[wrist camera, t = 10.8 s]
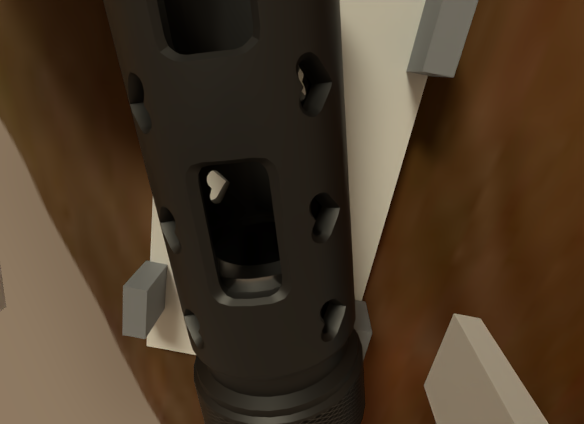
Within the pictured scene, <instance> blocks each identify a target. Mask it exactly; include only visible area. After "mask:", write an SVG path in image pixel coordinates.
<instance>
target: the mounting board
mask: <svg viewBox="0 0 584 424" xmlns="http://www.w3.org/2000/svg"><path fill="white" fill-rule="evenodd" d="M477 3H478V0H340V17H341V37H342V59H343V78H344V99H345V116H346V135H347V155H348V177H349V197H350V214H351V234H352V254H353V276H354V295H355V315H356V319H355V323H354V329H355V330H356V332H357V333H358V335H359V338H360V341H361V344H362V348H363V360H364V357H365V354H366V351H367V348H368V345H369V341H370V338H371V335H372V329H371V325H370V320H369V315H368V311H367V306H366V302H364V301H362V298H363V295H364V291H365V288H366V284H367V281H368V278H369V274H370V271H371V267H372V264H373V261H374V257H375V254H376V250H377V247H378V244H379V240H380V237H381V233H382V230H383V227H384V223H385V220H386V216H387V213H388V210H389V206H390V203H391V199H392V196H393V193H394V189H395V186H396V182H397V179H398V176H399V172H400V169H401V165H402V162H403V159H404V155H405V152H406V148H407V145H408V142H409V138H410V135H411V131H412V128H413V125H414V121H415V118H416V114H417V111H418V108H419V104H420V101H421V97H422V94H423V91H424V87H425V84H426V80H427V77H428V76H432V77H453V78H454V75H455V72H456V68H457V65H458V62H459V59H460V56H461V53H462V50H463V47H464V43H465V40H466V37H467V34H468V31H469V28H470V25H471V21H472V18H473V15H474V12H475V9H476V6H477ZM298 76H299V80H300V81H301V83H302V80H303V76H304V74H303V72H302V71H301V69H300V70H299V72H298ZM302 85H303V83H302ZM303 86H304V85H303ZM302 92H303V94H304V95H306V92H305V87H303V89H302ZM225 182H226V181H225V180H224V179H223V178H221V177H220V176H219V175H218V174H217V173H215V172H214V171H211V172H210V173H209V174H208V176H207V183H208V185H209V186H210V187H211V188H212V189H211V193H210V199H211V200H213V199H215V198H216V197H217V196H218V194H219V192H220V190H221V188H222V187H223V185H224V184H225ZM123 335H126V336H132V337H137V338H142V339H146V337H147V346H150V347H155V348H161V349H166V350H171V351H177V352H182V353H188V354H193V355H196V354H195V352H194V351H193V349H192V346H191V343H190V340H189V336H188V332H187V328H186V324H185V320H184V316H183V312H182V308H181V304H180V301H179V297H178V293H177V289H176V285H175V281H174V277H173V273H172V269H171V265H170V261H169V257H168V253H167V249H166V245H165V242H164V238H163V234H162V230H161V226H160V222H159V218H158V214H157V210H156V206H155V202H154V198H153V207H152V231H151V254H150V261H145V262H144V264H143V265H142V266H141V267H140V268H139V269H138V270H137V271H136V272H135V274H134V275H133V276H132V277H131V278H130V279H129V280H128V281H127V282H126V284H125V285H124V286H123Z"/></svg>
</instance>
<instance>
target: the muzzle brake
mask: <svg viewBox="0 0 584 424" xmlns="http://www.w3.org/2000/svg"><path fill="white" fill-rule="evenodd" d="M103 2H104V6H105V10H106V14H107V17H108V21H109V25H110V29H111V33H112V37H113V41H114V45H115V49H116V53H117V57H118V61H119V65H120V69H121V73H122V76H123V80H124V84H125V88H126V92H127V96H128V100H129V104H130V108H131V112H132V116H133V120H134V124H135V128H136V131H137V135H138V139H139V143H140V147H141V151H142V155H143V159H144V163H145V167H146V171H147V175H148V179H149V183H150V187H151V190H152V194H153V198H154V202H155V206H156V210H157V214H158V218H159V222H160V226H161V230H162V234H163V238H164V242H165V245H166V249H167V253H168V257H169V261H170V265H171V269H172V273H173V277H174V281H175V285H176V289H177V293H178V297H179V301H180V304H181V308H182V312H183V316H184V320H185V324H186V328H187V332H188V336H189V340H190V343H191V346H192V349H193V351H194V352H195V354H196V355H197V356H196V360H195V364H194V383H195V387H196V390H197V394H198V398H199V402H200V406H201V409H202V413H203V417H204V421H205V424H360V423H361V421H362V419H363V413H364V408H365V390H364V368H363V348H362V344H361V341H360V338H359V335H358V333H357V332H356V330H355V329H354V323H355V319H356V315H355V295H354V276H353V254H352V234H351V214H350V197H349V177H348V155H347V135H346V116H345V99H344V78H343V59H342V37H341V17H340V0H103ZM300 69H301V71H302V72H303V74H304V76H303V80H302V83H303V85H304V86H303V85H302V83H301V81H300V80H299V76H298V72H299V70H300ZM303 87H305V92H306V95H304V94H303V92H302V89H303ZM211 171H214V172H215V173H217V174H218V175H219V176H220V177H221V178H223V179H224V180H225V181H226V182H225V184H224V185H223V187H222V188H221V190H220V192H219V194H218V196H217V197H216V198H215V199H213V200H211V199H210V193H211V189H212V188H211V187H210V186H209V185H208V183H207V176H208V174H209V173H210V172H211Z"/></svg>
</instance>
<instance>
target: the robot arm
mask: <svg viewBox="0 0 584 424" xmlns="http://www.w3.org/2000/svg"><path fill="white" fill-rule="evenodd" d="M5 307H6V303H5V296H4V289H3V282H2V275H1V268H0V311H1V310H2V309H4V308H5ZM424 388H425V391H426V394H427V397H428V400H429V403H430V406H431V409H432V412H433V415H434V418H435V421H436V424H548V422H547V421H546V419H545V418H544V416H543V414H542V413H541V411H540V410H539V408H538V407H537V405H536V404H535V402H534V400H533V399H532V397H531V396H530V394H529V393H528V391H527V390H526V388H525V387H524V385H523V383H522V382H521V380H520V379H519V377H518V376H517V374H516V373H515V371H514V370H513V368H512V366H511V365H510V363H509V362H508V360H507V359H506V357H505V356H504V354H503V352H502V351H501V349H500V348H499V346H498V345H497V343H496V342H495V340H494V339H493V337H492V335H491V334H490V332H489V331H488V329H487V328H486V326H485V325H484V323H483V322H482V320H481V319H480V318H475V317H470V316H465V315H459V314H453V317H452V319H451V322H450V324H449V326H448V329H447V331H446V334H445V336H444V338H443V341H442V343H441V346H440V348H439V350H438V353H437V355H436V357H435V360H434V362H433V365H432V367H431V369H430V372H429V374H428V377H427V379H426V381H425V384H424Z"/></svg>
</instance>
